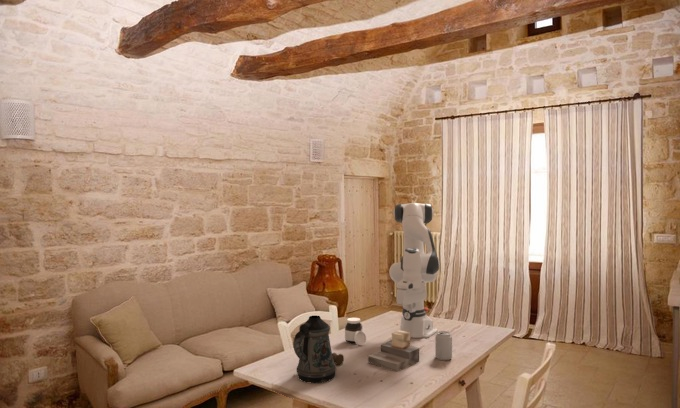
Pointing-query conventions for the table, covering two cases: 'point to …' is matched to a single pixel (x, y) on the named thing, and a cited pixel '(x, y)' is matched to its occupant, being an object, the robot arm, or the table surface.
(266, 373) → the table surface
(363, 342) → the spread jar
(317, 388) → the table surface
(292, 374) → the table surface
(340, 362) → the kendama
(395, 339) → the maple cube
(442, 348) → the can
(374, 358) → the stair block
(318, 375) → the beer stein
